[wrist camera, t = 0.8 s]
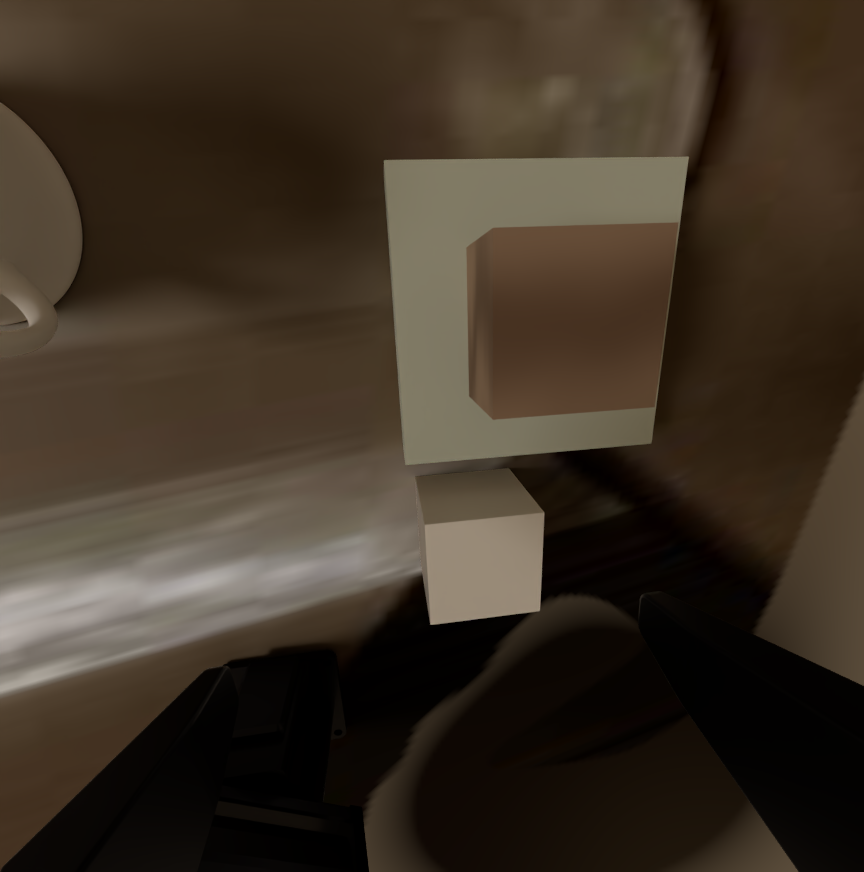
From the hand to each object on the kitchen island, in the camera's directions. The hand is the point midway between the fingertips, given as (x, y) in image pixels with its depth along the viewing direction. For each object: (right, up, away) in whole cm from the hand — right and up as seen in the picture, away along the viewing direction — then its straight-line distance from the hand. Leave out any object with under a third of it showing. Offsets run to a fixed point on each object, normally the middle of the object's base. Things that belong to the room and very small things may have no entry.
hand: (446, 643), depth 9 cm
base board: (+4, +10, +10) cm, 15 cm away
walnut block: (+4, +9, +8) cm, 13 cm away
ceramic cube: (+1, 0, +13) cm, 13 cm away
